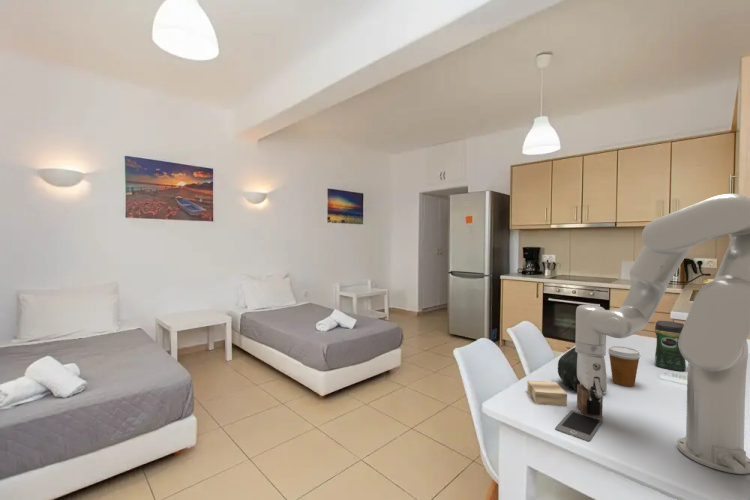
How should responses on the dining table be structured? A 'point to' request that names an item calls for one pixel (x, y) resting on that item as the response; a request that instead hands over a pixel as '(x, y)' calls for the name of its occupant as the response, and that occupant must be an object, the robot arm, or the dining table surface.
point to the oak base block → (547, 393)
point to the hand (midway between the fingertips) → (589, 409)
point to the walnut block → (582, 400)
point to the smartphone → (579, 425)
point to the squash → (569, 369)
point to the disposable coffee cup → (624, 365)
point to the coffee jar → (669, 346)
